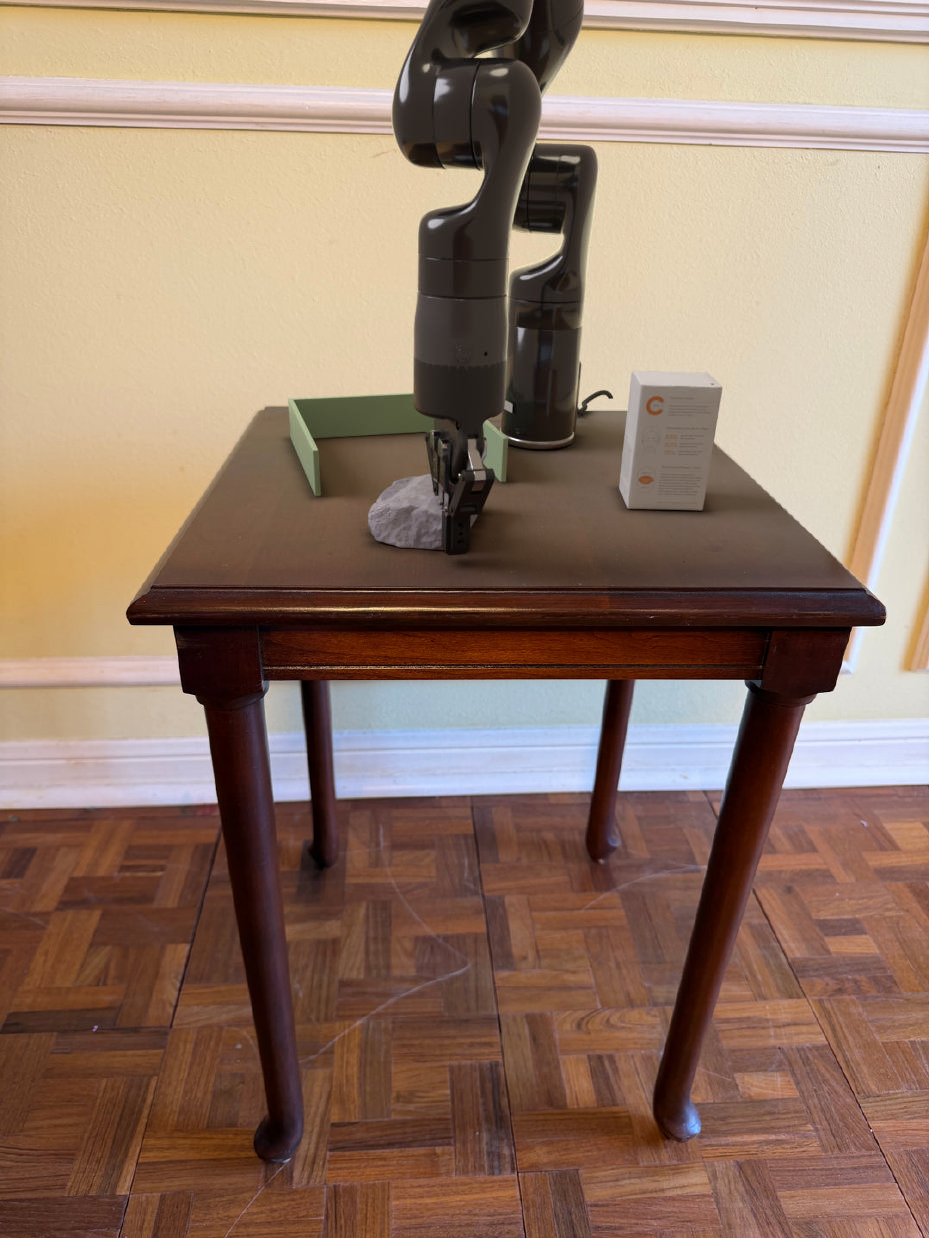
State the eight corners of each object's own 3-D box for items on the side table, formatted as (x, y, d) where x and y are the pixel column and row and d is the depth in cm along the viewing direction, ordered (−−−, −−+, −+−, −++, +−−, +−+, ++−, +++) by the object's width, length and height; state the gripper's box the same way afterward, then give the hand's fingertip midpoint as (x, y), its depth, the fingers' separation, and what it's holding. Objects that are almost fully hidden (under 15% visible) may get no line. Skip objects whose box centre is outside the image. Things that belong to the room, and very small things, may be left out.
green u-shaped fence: (506, 482, 98) (508, 438, 95) (315, 496, 92) (312, 450, 90) (453, 428, 115) (454, 390, 113) (290, 438, 110) (287, 398, 107)
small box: (690, 490, 97) (709, 371, 91) (703, 512, 91) (724, 386, 85) (617, 488, 97) (630, 369, 91) (625, 509, 91) (641, 384, 85)
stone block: (365, 560, 82) (468, 552, 80) (354, 512, 81) (459, 501, 78) (399, 519, 93) (491, 510, 90) (390, 475, 91) (484, 465, 88)
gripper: (534, 368, 66) (520, 578, 74) (479, 336, 77) (472, 521, 85) (437, 372, 64) (434, 587, 72) (395, 338, 75) (397, 528, 83)
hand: (455, 551), depth 78 cm, fingers closed
